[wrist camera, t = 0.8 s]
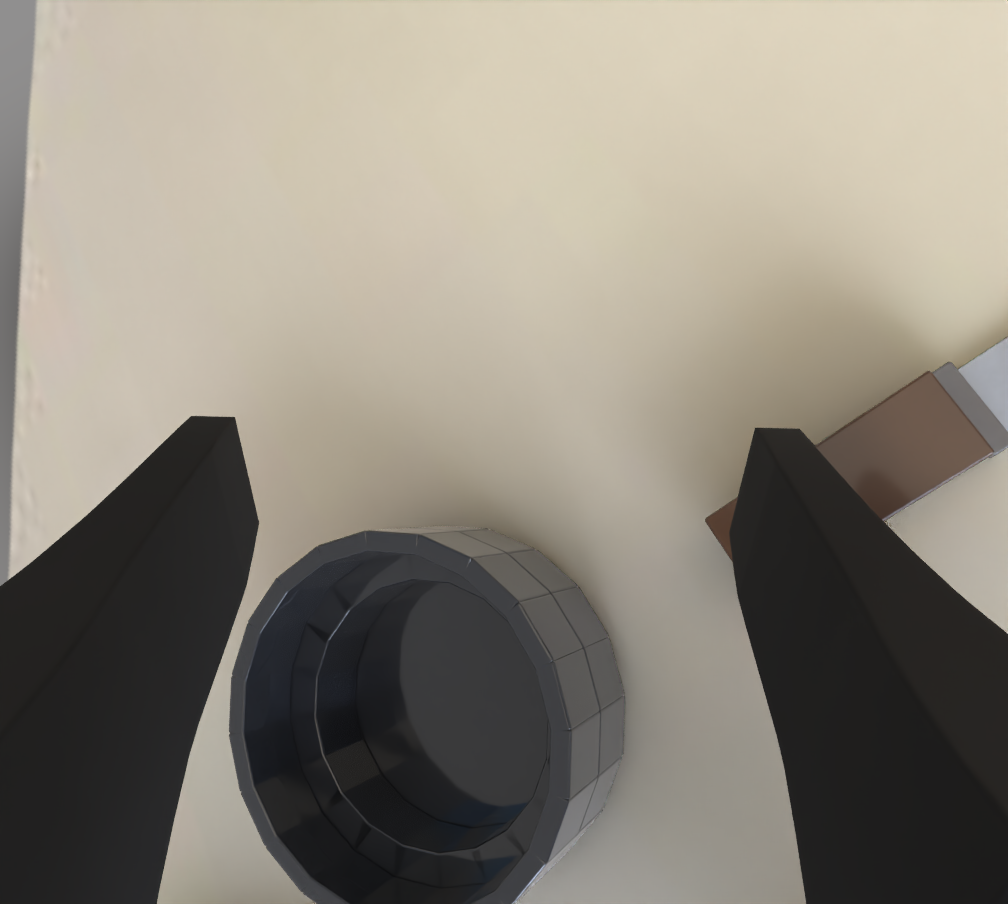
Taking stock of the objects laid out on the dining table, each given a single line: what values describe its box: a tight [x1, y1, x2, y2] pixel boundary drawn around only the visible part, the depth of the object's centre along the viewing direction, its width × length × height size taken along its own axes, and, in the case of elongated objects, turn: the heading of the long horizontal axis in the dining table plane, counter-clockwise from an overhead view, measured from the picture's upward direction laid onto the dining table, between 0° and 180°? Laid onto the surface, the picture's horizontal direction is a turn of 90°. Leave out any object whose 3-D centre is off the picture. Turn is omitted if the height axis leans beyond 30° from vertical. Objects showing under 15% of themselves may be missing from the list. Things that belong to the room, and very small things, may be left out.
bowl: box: [229, 526, 625, 904], centre depth 27 cm, size 11×11×5 cm
